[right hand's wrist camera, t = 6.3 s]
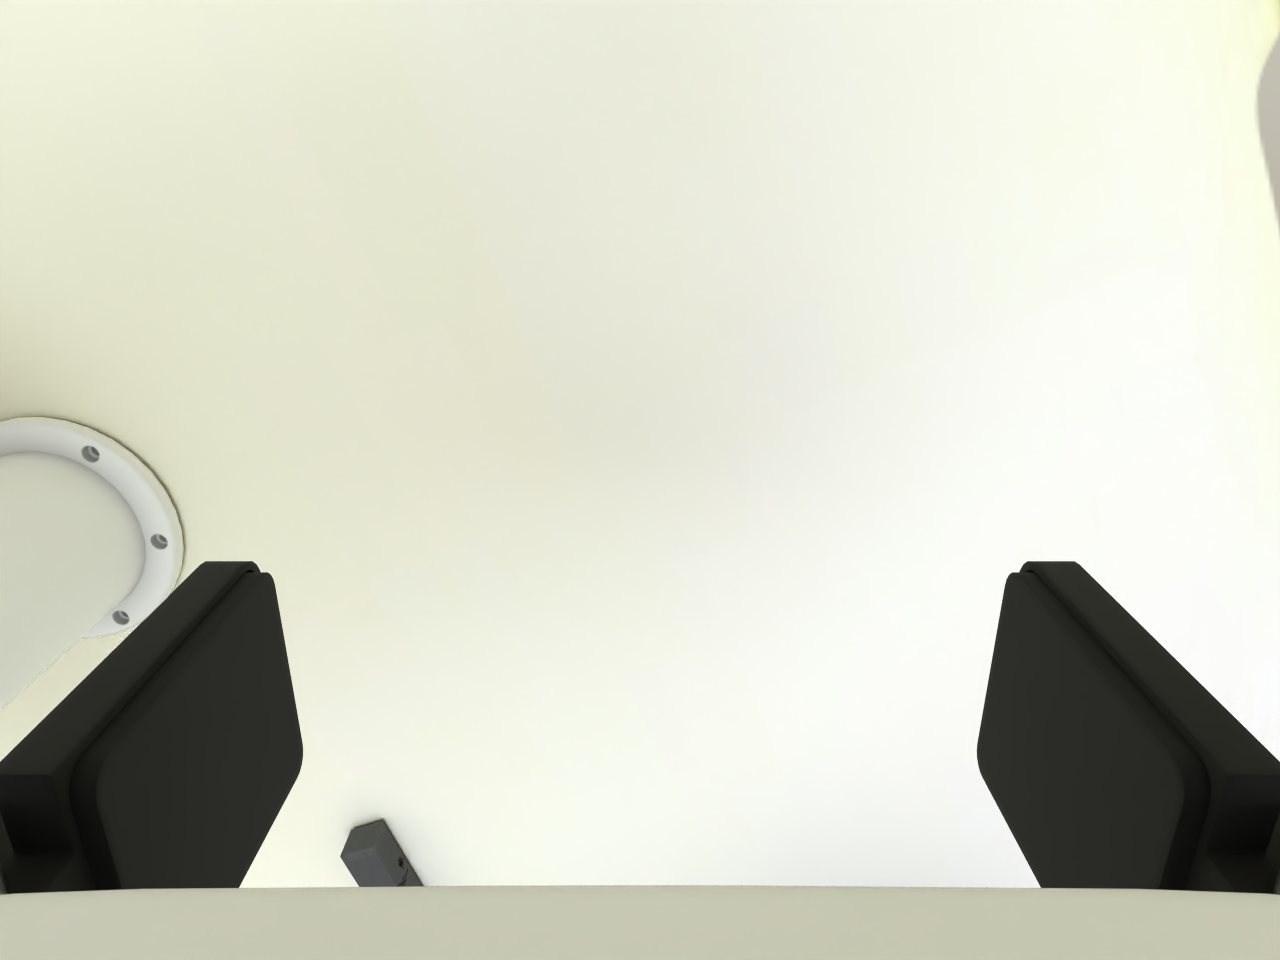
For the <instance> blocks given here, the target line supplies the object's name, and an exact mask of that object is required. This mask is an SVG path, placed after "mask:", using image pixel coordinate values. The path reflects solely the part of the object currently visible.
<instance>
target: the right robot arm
mask: <svg viewBox="0 0 1280 960" xmlns="http://www.w3.org/2000/svg"><path fill="white" fill-rule="evenodd" d="M183 552H184V548H183V537H182V529H181V526H180V523H179V519H178V516H177V513H176V510H175V508H174V506H173V504H172V502H171V500H170V498H169V496H168V494H167V492H166V491H165V489H164V488H163V486H162V485H161V484H160V482H159V481H158V480H157V478H156V477H155V476H154V475H153V473H152V472H151V471H150V470H149V469H148V468H147V467H146V466H145V465H144V464H143V463H142V462H141V461H140V460H139V459H138V458H137V457H136V456H135V455H134V454H133V453H131V452H130V451H128V450H127V449H125V448H124V447H123V446H121V445H120V444H118V443H117V442H115V441H114V440H113V439H111V438H109V437H107V436H105V435H103V434H101V433H99V432H97V431H95V430H93V429H91V428H88V427H85V426H82V425H79V424H75V423H72V422H69V421H66V420H60V419H53V418H46V417H21V418H14V419H10V420H5V421H1V422H0V711H1V710H2V709H3V708H4V707H5V706H7V705H8V704H9V703H10V702H11V701H12V700H13V699H14V698H15V697H17V696H18V695H19V694H20V693H21V692H22V691H23V690H24V689H25V688H26V687H28V686H29V685H30V684H31V683H32V682H33V681H34V680H35V679H36V678H37V677H39V676H40V675H41V674H42V673H43V672H44V671H45V670H46V669H47V668H49V667H50V666H51V665H52V664H53V663H54V662H55V661H56V660H57V659H58V658H60V657H61V656H62V655H63V654H64V653H65V652H66V651H67V650H68V649H69V648H71V647H72V646H73V645H74V644H75V643H76V642H77V641H78V640H79V639H81V638H99V637H104V636H109V635H113V634H118V633H120V632H123V631H125V630H127V629H130V628H132V627H134V626H136V625H138V624H139V623H140V622H142V621H143V620H144V621H143V622H142V623H141V624H140V625H139V626H138V627H137V628H136V629H135V630H134V631H133V632H132V633H131V634H130V635H129V636H128V637H127V638H126V639H125V640H124V641H123V642H122V643H120V644H119V645H118V646H117V647H116V648H115V649H114V650H113V651H112V652H111V653H110V654H109V655H108V656H107V657H106V658H105V659H104V660H103V661H102V662H101V663H100V664H99V665H98V666H97V667H96V668H95V669H94V670H93V671H92V672H91V673H90V674H89V675H88V676H87V677H86V678H85V679H84V680H83V681H82V682H81V683H80V684H79V685H78V686H77V687H76V688H75V689H74V690H73V691H72V692H71V693H70V694H69V695H68V696H67V697H66V698H65V699H64V700H63V701H62V702H61V703H60V704H59V705H58V706H57V707H56V708H55V709H53V710H52V711H51V712H50V713H49V714H48V715H47V716H46V717H45V718H44V719H43V720H42V721H41V722H40V723H39V724H38V725H37V726H36V727H35V728H34V729H33V730H32V731H31V732H30V733H29V734H28V735H27V736H26V737H25V738H24V739H23V740H22V741H21V742H20V743H19V744H18V745H17V746H16V747H15V748H14V749H13V750H12V751H11V752H10V753H9V754H8V755H7V756H6V757H5V758H4V759H3V760H2V761H1V762H0V960H1280V762H1279V761H1278V760H1277V759H1276V758H1275V757H1274V756H1273V755H1272V754H1271V753H1270V752H1269V751H1268V750H1267V749H1266V748H1265V747H1264V746H1263V745H1262V744H1261V743H1260V742H1259V741H1258V740H1257V739H1256V738H1255V737H1254V736H1253V735H1252V734H1251V733H1250V732H1249V731H1248V730H1247V729H1246V728H1245V727H1244V726H1243V725H1242V724H1241V723H1240V722H1239V721H1238V720H1237V719H1236V718H1235V717H1234V716H1233V715H1232V714H1231V713H1230V712H1229V711H1228V710H1227V709H1225V708H1224V707H1223V706H1222V705H1221V704H1220V703H1219V702H1218V701H1217V700H1216V699H1215V698H1214V697H1213V696H1212V695H1211V694H1210V693H1209V692H1208V691H1207V690H1206V689H1205V688H1204V687H1203V686H1202V685H1201V684H1200V683H1199V682H1198V681H1197V680H1196V679H1195V678H1194V677H1193V676H1192V675H1191V674H1190V673H1189V672H1188V671H1187V670H1186V669H1185V668H1184V667H1183V666H1182V665H1181V664H1180V663H1179V662H1178V661H1177V660H1176V659H1175V658H1174V657H1173V656H1172V655H1171V654H1170V653H1169V652H1168V651H1167V650H1166V649H1165V648H1164V647H1163V646H1162V645H1161V644H1160V643H1158V642H1157V641H1156V640H1155V639H1154V638H1153V637H1152V636H1151V635H1150V634H1149V633H1148V632H1147V631H1146V630H1145V629H1144V628H1143V627H1142V626H1141V625H1140V624H1139V623H1138V622H1137V621H1136V620H1135V619H1134V618H1133V617H1132V616H1131V615H1130V614H1129V613H1128V612H1127V611H1126V610H1125V609H1124V608H1123V607H1122V606H1121V605H1120V604H1119V603H1118V602H1117V601H1116V600H1115V599H1114V598H1113V597H1112V596H1111V595H1110V594H1109V593H1108V592H1107V591H1106V590H1105V589H1104V588H1103V587H1102V586H1101V585H1100V584H1099V583H1098V582H1097V581H1096V580H1095V579H1094V578H1093V577H1091V576H1090V575H1089V574H1088V573H1087V572H1086V571H1085V570H1084V569H1083V568H1082V567H1081V566H1080V565H1079V564H1078V563H1076V562H1074V561H1027V562H1026V563H1025V564H1024V565H1023V566H1022V568H1021V570H1020V572H1019V573H1011V574H1010V575H1009V576H1008V578H1007V580H1006V584H1005V589H1004V595H1003V600H1002V606H1001V612H1000V618H999V623H998V629H997V635H996V641H995V646H994V652H993V658H992V663H991V669H990V675H989V681H988V686H987V692H986V698H985V704H984V709H983V715H982V721H981V727H980V732H979V738H978V744H977V759H978V765H979V769H980V772H981V775H982V777H983V779H984V781H985V783H986V785H987V787H988V789H989V790H990V792H991V794H992V796H993V798H994V800H995V802H996V804H997V805H998V807H999V809H1000V811H1001V813H1002V815H1003V817H1004V819H1005V821H1006V822H1007V824H1008V826H1009V828H1010V830H1011V832H1012V834H1013V836H1014V837H1015V839H1016V841H1017V843H1018V845H1019V847H1020V849H1021V851H1022V853H1023V854H1024V856H1025V858H1026V860H1027V862H1028V864H1029V866H1030V868H1031V870H1032V871H1033V873H1034V875H1035V877H1036V879H1037V881H1038V883H1039V885H1040V886H1041V888H969V887H846V886H423V887H311V888H239V886H240V885H241V883H242V881H243V879H244V877H245V875H246V873H247V871H248V870H249V868H250V866H251V864H252V862H253V860H254V858H255V856H256V854H257V853H258V851H259V849H260V847H261V845H262V843H263V841H264V839H265V837H266V836H267V834H268V832H269V830H270V828H271V826H272V824H273V822H274V821H275V819H276V817H277V815H278V813H279V811H280V809H281V807H282V805H283V804H284V802H285V800H286V798H287V796H288V794H289V792H290V790H291V789H292V787H293V785H294V783H295V781H296V779H297V777H298V775H299V772H300V769H301V765H302V759H303V744H302V738H301V732H300V727H299V721H298V715H297V709H296V704H295V698H294V692H293V686H292V681H291V675H290V669H289V663H288V658H287V652H286V646H285V641H284V635H283V629H282V623H281V618H280V612H279V606H278V600H277V595H276V589H275V584H274V580H273V578H272V576H271V575H270V574H269V573H261V572H260V570H259V568H258V566H257V565H256V564H255V563H254V562H253V561H206V562H204V563H202V564H201V565H200V566H199V567H198V568H197V569H196V570H195V571H194V572H193V573H192V574H191V575H190V576H189V577H187V578H186V579H185V580H184V581H183V582H182V583H181V584H180V585H179V586H178V587H177V588H176V589H175V590H174V591H173V592H172V593H171V591H172V590H173V588H174V587H175V585H176V582H177V580H178V577H179V574H180V572H181V568H182V560H183ZM170 593H171V594H170ZM169 594H170V595H169Z"/></svg>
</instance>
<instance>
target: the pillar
mask: <svg viewBox="0 0 1280 960" xmlns="http://www.w3.org/2000/svg"><path fill="white" fill-rule="evenodd" d="M340 857H341V859H342V860H343V862H344V863H345V865H346V866H347V868H348V870H349V871H350V873H351V874H352V876H353V877H354V879H355V881H356V882H357V884H358V885H359V887H422V885H421V883H420V882H419V880H418V878H417V877H416V875H415V873H414V872H413V870H412V868H411V867H410V865H409V863H408V862H407V860H406V858H405V857H404V855H403V853H402V852H401V850H400V848H399V847H398V845H397V843H396V842H395V840H394V838H393V837H392V835H391V833H390V832H389V830H388V828H387V827H386V825H385V823H384V822H383V820H382V821H379V822H376V823H372V824H369V825H366V826H362V827H359V828H355V829H352V830H351V832H350V834H349V836H348V839H347V841H346V844H345V846H344V849H343V851H342V853H341V856H340Z"/></svg>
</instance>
